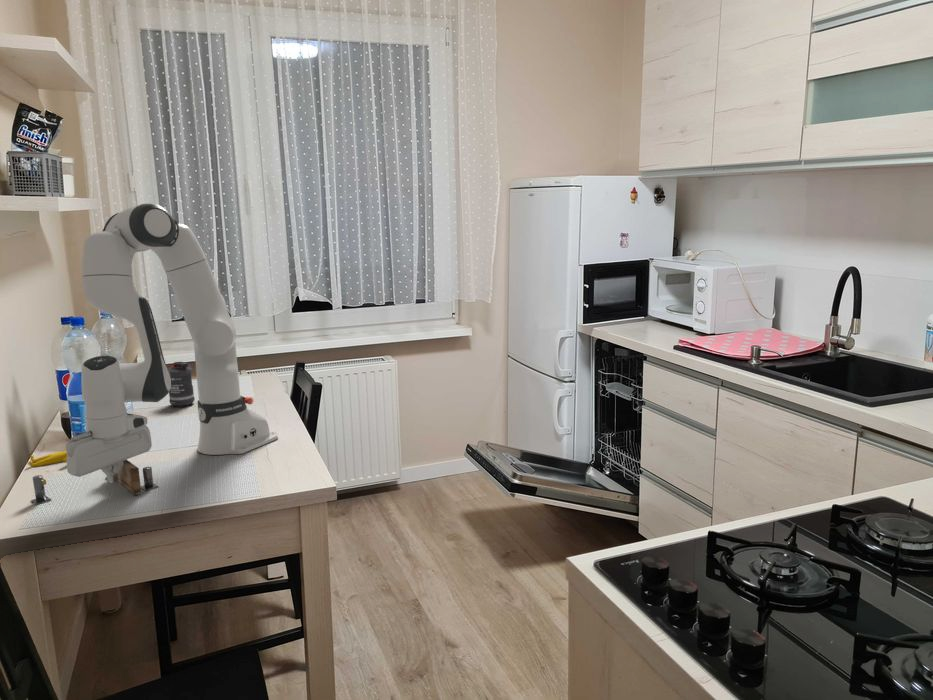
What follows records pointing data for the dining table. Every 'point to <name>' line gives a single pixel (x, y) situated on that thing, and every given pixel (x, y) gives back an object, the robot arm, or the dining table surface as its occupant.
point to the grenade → (181, 385)
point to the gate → (130, 477)
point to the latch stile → (39, 490)
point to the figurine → (48, 459)
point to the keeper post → (148, 479)
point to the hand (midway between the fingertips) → (114, 480)
